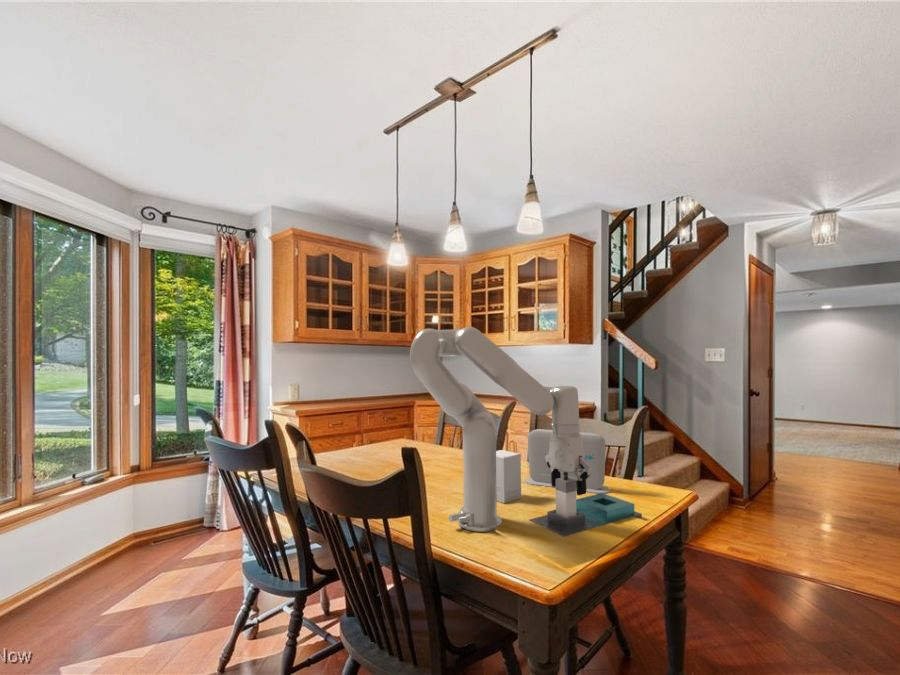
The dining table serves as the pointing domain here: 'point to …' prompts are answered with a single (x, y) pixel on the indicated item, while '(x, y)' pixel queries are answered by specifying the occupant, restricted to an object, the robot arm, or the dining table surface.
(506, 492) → the supplement box
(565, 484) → the plug
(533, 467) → the wireless router
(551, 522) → the panel
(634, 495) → the dining table surface
